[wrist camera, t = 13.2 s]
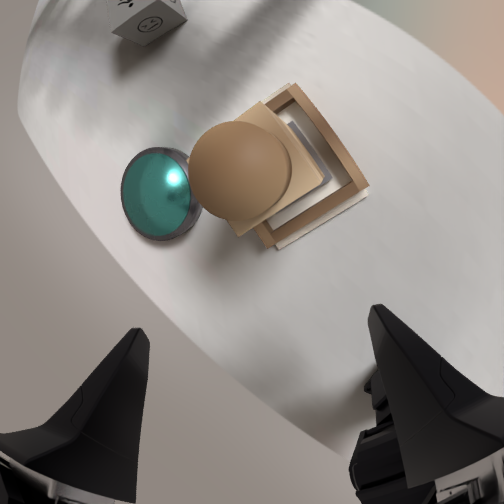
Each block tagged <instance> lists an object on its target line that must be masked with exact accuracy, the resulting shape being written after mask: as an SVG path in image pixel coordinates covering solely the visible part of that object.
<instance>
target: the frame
mask: <svg viewBox="0 0 504 504" xmlns="http://www.w3.org/2000/svg"><path fill="white" fill-rule="evenodd" d="M262 103H263V104H264V105H266V106H267V107H268V108H269V109H270V110H271V111H273V112H274V113H275V114H276V115H277V116H278V117H279V118H280V119H282V120H283V121H284V122H285V123H286V124H288V123H289V122H291V121H293V122H294V123H295V124H296V126H297V127H298V128H299V130H300V131H301V132H302V134H303V135H304V136H305V138H306V139H307V141H308V142H309V143H310V145H311V146H312V148H313V149H314V150H315V152H316V153H317V155H318V156H319V158H320V159H321V161H322V162H323V164H324V165H325V166H326V168H327V169H328V171H329V173H330V174H331V176H332V177H333V178H332V179H330V180H329V181H327V182H326V183H324V184H323V185H321V186H319V187H318V188H316V189H315V190H313V191H312V192H310V193H308V194H307V195H305V196H304V197H302V198H301V199H299V200H297V201H296V202H294V203H293V204H291V205H290V206H288V207H287V208H285V209H284V210H282V211H280V212H279V213H277V214H273V215H272V216H270V217H269V218H267V219H265V220H264V221H262V222H261V223H259V224H258V225H256V226H255V227H253V229H254V230H255V231H256V233H257V234H258V236H259V237H260V239H261V240H262V242H263V243H264V245H265V246H266V248H267V249H268V248H269V247H271V246H273V245H274V244H275V245H276V246H277V248H278V249H279V250H280V249H281V248H283V247H285V246H286V245H288V244H289V243H291V242H293V241H294V240H296V239H298V238H299V237H301V236H303V235H304V234H306V233H308V232H309V231H311V230H313V229H314V228H316V227H317V226H319V225H321V224H322V223H324V222H326V221H327V220H329V219H331V218H332V217H334V216H335V215H337V214H339V213H340V212H342V211H344V210H345V209H347V208H348V207H350V206H352V205H353V204H355V203H357V202H358V201H360V200H361V199H363V198H365V197H366V196H368V195H369V194H368V192H367V191H366V189H365V188H366V187H368V186H370V185H369V184H368V182H367V180H366V179H365V177H364V176H363V174H362V172H361V171H360V169H359V168H358V166H357V165H356V163H355V161H354V160H353V158H352V157H351V155H350V154H349V152H348V151H347V149H346V148H345V146H344V145H343V144H342V142H341V141H340V139H339V138H338V136H337V135H336V134H335V132H334V131H333V129H332V128H331V127H330V125H329V124H328V123H327V121H326V120H325V119H324V117H323V116H322V115H321V113H320V112H319V111H318V109H317V108H316V107H315V106H314V104H313V103H312V102H311V101H310V99H309V98H308V97H307V96H306V94H305V93H304V92H303V91H302V90H301V88H300V87H299V86H298V85H297V84H296V83H295V84H293V85H292V86H291V85H290V83H288V84H286V85H285V86H283V87H282V88H280V89H279V90H277V91H276V92H274V93H273V94H272V95H270V96H269V97H267V98H266V99H264V100H263V101H262Z"/></svg>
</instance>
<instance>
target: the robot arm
mask: <svg viewBox="0 0 504 504" xmlns="http://www.w3.org/2000/svg"><path fill="white" fill-rule="evenodd" d="M368 327H369V331H370V336H371V340H372V345H373V350H374V355H375V359H376V363H377V366H378V370H377V372H376V373H375V374H374V375H373V376H372V377H371V379H370V380H369V381H368V382H367V384H366V385H365V386H364V391H365V392H366V393H369V394H372V405H373V409H374V410H376V427H374V428H371V429H369V430H364V431H362V432H360V435H359V438H358V441H357V444H356V447H355V450H354V453H353V456H352V459H351V462H350V466H349V472H350V479H351V482H352V484H353V486H354V488H355V489H356V496H357V497H358V498H359V500H360V501H361V503H362V504H504V397H497V396H493V395H490V394H488V393H486V392H485V391H484V390H482V389H481V388H480V387H478V386H477V385H476V384H474V383H473V382H472V381H470V380H469V379H468V378H466V377H465V376H464V375H463V374H461V373H460V372H459V371H458V370H456V369H455V368H454V367H453V366H452V365H451V364H449V363H448V362H447V361H446V360H445V359H444V358H443V357H441V355H440V354H438V353H437V352H436V351H435V350H434V349H433V348H432V347H431V346H430V345H429V344H427V343H426V342H425V341H424V340H423V339H422V338H421V337H420V336H418V335H417V334H416V333H415V332H414V331H413V330H412V329H411V328H409V327H408V326H407V325H406V324H405V323H404V322H403V321H401V320H400V319H399V318H398V317H397V316H396V315H394V314H393V313H392V312H391V311H390V310H389V309H387V308H386V307H385V306H384V305H383V304H376V305H372V306H371V309H370V313H369V317H368ZM149 350H150V342H149V339H148V338H147V336H146V334H145V333H144V331H143V330H142V329H141V328H131V329H130V330H129V331H128V332H127V334H126V335H125V336H124V337H123V338H122V339H121V340H120V341H119V343H118V344H117V345H116V346H115V347H114V348H113V349H112V350H111V352H110V353H109V354H108V355H107V356H106V357H105V358H104V359H103V360H102V362H101V363H100V364H99V365H98V366H97V368H96V369H95V370H94V371H93V372H92V373H91V374H90V375H89V377H88V378H87V379H86V380H85V381H84V382H83V384H82V386H80V387H79V388H78V389H77V391H76V392H75V393H74V394H73V395H72V396H71V397H70V399H69V400H68V401H67V402H66V403H65V404H64V405H63V406H62V407H61V408H60V409H59V410H58V411H57V412H56V413H55V414H54V415H53V416H52V417H51V418H50V419H49V420H48V421H47V422H45V423H44V424H43V425H41V426H38V427H35V428H31V429H27V430H22V431H17V432H12V433H6V434H2V433H0V451H2V452H3V453H4V454H6V455H7V456H9V457H10V461H9V460H7V459H5V458H3V457H2V456H0V504H114V502H115V500H120V501H124V502H129V503H136V485H137V468H138V454H139V442H140V432H141V424H142V416H143V408H144V401H145V394H146V387H147V380H148V366H149Z"/></svg>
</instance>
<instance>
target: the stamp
mask: <svg viewBox="0 0 504 504" xmlns="http://www.w3.org/2000/svg"><path fill="white" fill-rule="evenodd" d="M186 161H187V163H188V178H189V183H190V186H191V189H192V192H193V194H194V196H195V197H196V199H197V200H198V202H199V203H200V204H201V205H202V206H203V207H204V208H205V209H206V210H207V211H208V212H210V213H211V214H213V215H215V216H217V217H219V218H222V219H225V220H227V222H228V223H229V224H230V226H231V227H232V229H233V230H234V232H235V233H236V235H237V236H238V237H240V236H241V235H243V234H244V233H246V232H247V231H249V230H250V229H252V228H253V227H255V226H256V225H258V224H259V223H261V222H262V221H264V220H265V219H267V218H269V217H270V216H272V215H273V214H277V213H279V212H280V211H282V210H284V209H285V208H287V207H288V206H290V205H291V204H293V203H294V202H296V201H297V200H299V199H301V198H302V197H304V196H305V195H307V194H308V193H310V192H312V191H313V190H315V189H316V188H318V187H319V186H321V185H323V184H324V183H326V182H327V181H329V180H330V179H332V178H333V177H332V176H331V174H330V173H329V171H328V169H327V168H326V166H325V165H324V164H323V162H322V161H321V159H320V158H319V156H318V155H317V153H316V152H315V150H314V149H313V148H312V146H311V145H310V143H309V142H308V141H307V139H306V138H305V136H304V135H303V134H302V132H301V131H300V130H299V128H298V127H297V126H296V124H295V123H294V122H293V121H291V122H289V123H288V124H286V123H285V122H284V121H283V120H282V119H280V118H279V117H278V116H277V115H276V114H275V113H274V112H273V111H271V110H270V109H269V108H268V107H267V106H266V105H264V104H263V103H262V102H261V101H259V102H258V103H257V104H255V105H254V106H253V107H251V108H250V109H249V110H247V111H246V112H245V113H243V114H242V115H241V116H239V117H238V118H237V119H235V120H234V121H230V122H225V123H221V124H219V125H216V126H214V127H213V128H211V129H209V130H208V131H207V132H205V133H204V134H203V135H202V136H201V137H200V139H199V140H198V141H197V143H196V144H195V146H194V148H193V150H192V152H191V155H190V157H189V158H188V159H187V160H186Z"/></svg>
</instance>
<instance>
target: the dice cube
mask: <svg viewBox="0 0 504 504" xmlns="http://www.w3.org/2000/svg"><path fill="white" fill-rule="evenodd" d="M106 3H107V10H108V17H109V23H110V29H111V33H113V34H116V35H118V36H121V37H123V38H126V39H128V40H130V41H133V42H135V43H137V44H140V45H142V46H146V45H147V44H149V43H150V42H152V41H153V40H155V39H156V38H158V37H160V36H161V35H163V34H164V33H166V32H168V31H169V30H171V29H173V28H174V27H176V26H178V25H180V24H182V23H183V22H185V21H187V17H186V14H185V12H184V9H183V7H182V4H181V1H180V0H107V1H106Z"/></svg>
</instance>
